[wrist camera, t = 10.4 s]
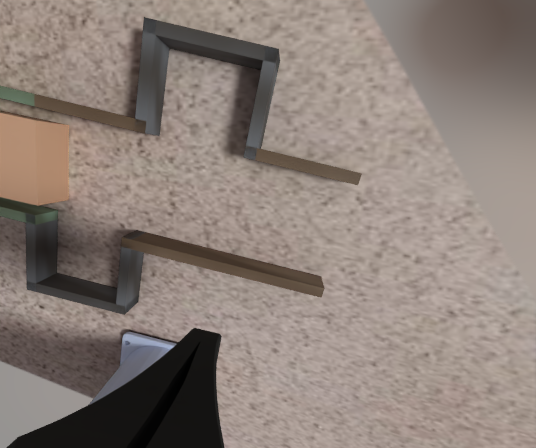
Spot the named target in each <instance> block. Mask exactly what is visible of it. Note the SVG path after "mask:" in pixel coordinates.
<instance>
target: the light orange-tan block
mask: <svg viewBox="0 0 536 448" xmlns="http://www.w3.org/2000/svg"><path fill="white" fill-rule="evenodd" d="M0 197H2V198H6V199H11V200H15V201H19V202H24V203H28V204H33V205H37V206H39V205H44V204H49V203H55V202H60V201H66V200H69V125H64V124H60V123H55V122H50V121H46V120H41V119H37V118H32V117H27V116H23V115H18V114H13V113H9V112H4V111H0Z"/></svg>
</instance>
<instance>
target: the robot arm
mask: <svg viewBox="0 0 536 448" xmlns="http://www.w3.org/2000/svg"><path fill="white" fill-rule="evenodd" d="M128 341H129V342H128ZM220 342H221V335H220V334H218V333H214V332H210V331H205V330H201V329H197V328H194V329H192V330H191V331H190V332H189V333H188V334H187V335H186V336H185V337H184V338H183V339H182V340H181V341H180V342H178V343H177V344H176V343H172V342H168V341H164V340H160V339H156V338H152V337H149V336H145V335H141V334H137V333H133V332H126V333H125V334H124V335H123V338H122V349H121V359H120V367H119V368H118V369H117V371H116V372H115V373H114V374H113V376H112V377H111V378H110V379H109V381H108V382H107V383H106V384H105V385H104V387H103V388H102V389H101V390H100V392H99V393H98V394H97V395H96V396H95V398H94V399H93V400H92V402H91V403H90V404H89V405H88V406H86V407H84V408H82V409H80V410H78V411H76V412H74V413H72V414H70V415H68V416H66V417H64V418H62V419H60V420H58V421H56V422H53V423H51V424H48V425H46V426H44V427H41V428H39V429H37V430H34V431H32V432H30V433H28V434H25V435H22V436H20V437H18V438H17V439H16V440H15V441H13V442H12V443H11V444H10V445H9V446H8V447H7V448H224V443H223V437H222V432H221V426H220V420H219V412H218V403H217V390H216V363H217V358H218V353H219V347H220Z"/></svg>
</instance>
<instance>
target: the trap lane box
mask: <svg viewBox="0 0 536 448" xmlns="http://www.w3.org/2000/svg"><path fill="white" fill-rule="evenodd" d="M169 48H171V49H175V50H179V51H184V52H188V53H192V54H196V55H200V56H205V57H209V58H213V59H217V60H222V61H226V62H230V63H234V64H238V65H243V66H247V67H251V68H255V69H260V70H261V74H260V79H259V84H258V89H257V94H256V98H255V103H254V108H253V113H252V118H251V123H250V128H249V133H248V138H247V143H246V148H245V153H244V158H248V159H252V160H256V161H261V162H265V163H269V164H273V165H277V166H281V167H285V168H289V169H293V170H297V171H302V172H306V173H310V174H314V175H318V176H322V177H326V178H330V179H334V180H338V181H343V182H347V183H351V184H355V185H358V184H359V181H360V177H361V173H357V172H353V171H349V170H345V169H341V168H337V167H333V166H329V165H324V164H320V163H316V162H312V161H308V160H304V159H300V158H296V157H291V156H287V155H283V154H279V153H275V152H271V151H267V150H263V149H261V146H262V141H263V136H264V132H265V127H266V123H267V118H268V113H269V109H270V104H271V100H272V95H273V90H274V86H275V81H276V77H277V72H278V67H279V63H280V57H279V49H277V48H272V47H268V46H264V45H260V44H255V43H251V42H247V41H243V40H238V39H234V38H230V37H225V36H221V35H217V34H213V33H208V32H204V31H200V30H196V29H191V28H187V27H183V26H179V25H174V24H170V23H166V22H162V21H157V20H153V19H149V18H145V17H144V24H143V36H142V47H141V58H140V69H139V80H138V91H137V102H136V114H135V118H131V117H127V116H123V115H119V114H115V113H110V112H106V111H102V110H98V109H94V108H90V107H86V106H82V105H78V104H73V103H69V102H65V101H61V100H57V99H53V98H49V97H45V96H41V95H36V94H32V93H28V92H24V91H20V90H16V89H12V88H8V87H3V86H0V98H2V99H6V100H11V101H15V102H19V103H23V104H27V105H31V106H35V107H39V108H43V109H47V110H52V111H56V112H60V113H64V114H68V115H72V116H76V117H80V118H84V119H88V120H93V121H97V122H101V123H105V124H109V125H113V126H117V127H121V128H125V129H129V130H133V131H138V132H142V133H146V134H152V135H157V136H159V135H160V126H161V117H162V109H163V100H164V91H165V83H166V74H167V65H168V57H169ZM0 216H1V217H5V218H9V219H13V220H17V221H21V222H25V223H26V270H27V290H31V291H35V292H39V293H43V294H47V295H51V296H54V297H58V298H62V299H66V300H70V301H74V302H78V303H82V304H85V305H89V306H93V307H97V308H101V309H105V310H109V311H112V312H116V313H120V314H124V315H125V314H126V313H127V312H128V311H129V310H130V309H131V308H132V307H133V306H134V305H135V304H136V303H137V302H138V298H139V289H140V281H141V272H142V263H143V254H144V253H148V254H151V255H155V256H159V257H163V258H167V259H171V260H175V261H179V262H183V263H187V264H191V265H195V266H199V267H203V268H207V269H211V270H215V271H219V272H223V273H226V274H230V275H234V276H238V277H242V278H246V279H250V280H254V281H258V282H262V283H266V284H270V285H274V286H278V287H282V288H286V289H290V290H294V291H298V292H301V293H305V294H309V295H313V296H317V297H322V294H323V291H324V286H323V282H322V278H321V276H317V275H313V274H309V273H305V272H301V271H297V270H293V269H289V268H285V267H281V266H277V265H273V264H269V263H265V262H261V261H257V260H253V259H249V258H245V257H241V256H237V255H233V254H229V253H225V252H221V251H217V250H213V249H209V248H205V247H201V246H197V245H193V244H189V243H185V242H181V241H177V240H173V239H170V238H166V237H162V236H158V235H154V234H150V233H146V232H142V231H138V230H136V231H134V232H132V233H130V234H128V235H126V236H124V237H122V242H121V253H120V265H119V276H118V288H113V287H109V286H105V285H101V284H98V283H94V282H90V281H86V280H82V279H78V278H74V277H70V276H66V275H62V274H59V273H57V229H58V210H54V209H50V208H46V207H42V206H37V205H33V204H28V203H24V202H19V201H15V200H11V199H6V198H2V197H0Z"/></svg>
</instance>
